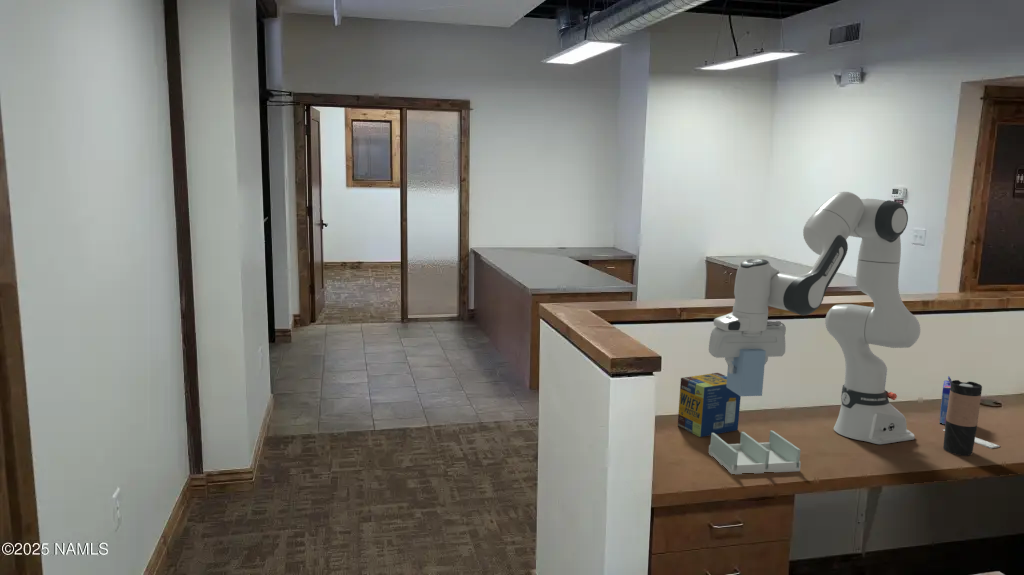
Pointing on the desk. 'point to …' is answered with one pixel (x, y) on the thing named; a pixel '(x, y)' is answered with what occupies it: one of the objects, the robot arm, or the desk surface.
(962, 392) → the travel mug
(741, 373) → the blue block
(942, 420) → the ink cartridge box
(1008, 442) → the desk surface
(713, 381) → the protein box
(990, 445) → the flat white bar
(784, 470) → the slot rack
